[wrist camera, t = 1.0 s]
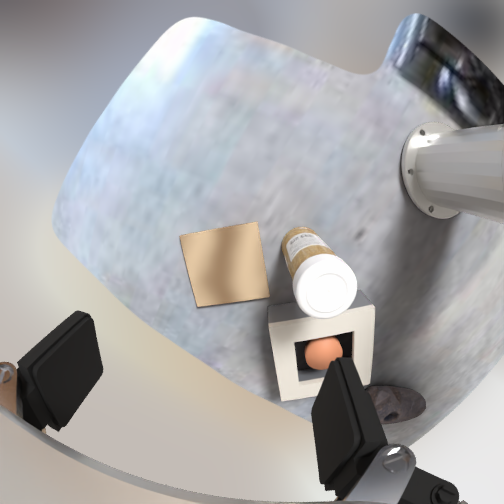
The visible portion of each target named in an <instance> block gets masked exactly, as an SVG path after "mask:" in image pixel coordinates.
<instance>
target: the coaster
mask: <svg viewBox="0 0 504 504" xmlns="http://www.w3.org/2000/svg"><path fill="white" fill-rule="evenodd" d="M180 240H181V245H182V249H183V253H184V257H185V261H186V265H187V269H188V273H189V277H190V281H191V285H192V289H193V292H194V296H195V300H196V303H197V307H200V306H208V305H216V304H224V303H231V302H239V301H246V300H253V299H260V298H266V297H270V293H269V287H268V281H267V275H266V269H265V263H264V258H263V252H262V246H261V240H260V234H259V228H258V223H257V222H252V223H246V224H240V225H234V226H229V227H223V228H217V229H212V230H206V231H201V232H195V233H190V234H185V235H181V236H180Z"/></svg>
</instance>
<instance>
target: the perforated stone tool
mask: <svg viewBox="0 0 504 504" xmlns="http://www.w3.org/2000/svg"><path fill="white" fill-rule="evenodd" d="M366 391H368V392H369V394H370V396H371V398H372V401H373V404H374V406H375V409H376V412H377V414H378V417H379V420H380V422H381V424H391V423H398V422H402V421H406V420H410V419H412V418H415V417H417V416H419V415H420V414H422V413H423V412H424V410H425V409H426V402H425V399H424V398H423V397H422V396H421V395H420V394H419V393H418V392H416V391H414V390H411V389H408V388H401V387H394V386H385V385H382V386H370V387H369V388H367V390H366Z"/></svg>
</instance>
